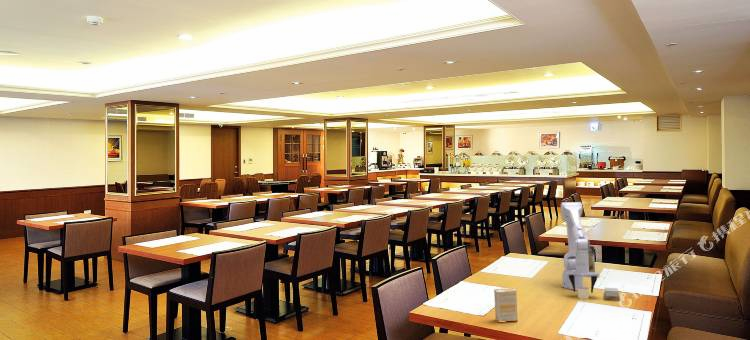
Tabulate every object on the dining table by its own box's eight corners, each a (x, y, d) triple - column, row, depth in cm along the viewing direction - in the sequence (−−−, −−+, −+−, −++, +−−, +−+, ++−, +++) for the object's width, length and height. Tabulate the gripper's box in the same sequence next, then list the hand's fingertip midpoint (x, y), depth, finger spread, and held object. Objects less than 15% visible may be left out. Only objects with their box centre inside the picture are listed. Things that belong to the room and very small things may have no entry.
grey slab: (605, 295, 228) (605, 290, 228) (604, 292, 233) (604, 287, 233) (618, 296, 226) (618, 291, 226) (617, 293, 231) (617, 288, 231)
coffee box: (582, 276, 275) (581, 247, 275) (574, 273, 281) (573, 245, 281) (595, 274, 277) (594, 246, 277) (587, 272, 283) (587, 244, 283)
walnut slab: (604, 301, 228) (604, 296, 228) (603, 297, 234) (603, 292, 234) (619, 302, 225) (619, 296, 225) (618, 298, 231) (618, 293, 231)
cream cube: (578, 298, 233) (577, 288, 233) (578, 295, 237) (577, 286, 237) (588, 298, 231) (588, 289, 231) (588, 296, 236) (588, 287, 236)
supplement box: (514, 318, 207) (513, 287, 207) (517, 322, 202) (516, 290, 202) (494, 319, 207) (493, 288, 207) (498, 323, 202) (497, 291, 202)
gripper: (565, 264, 233) (566, 292, 233) (599, 265, 228) (600, 294, 228) (566, 261, 240) (567, 289, 240) (598, 262, 234) (599, 290, 234)
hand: (583, 291), depth 234 cm, fingers open, 7 cm apart
